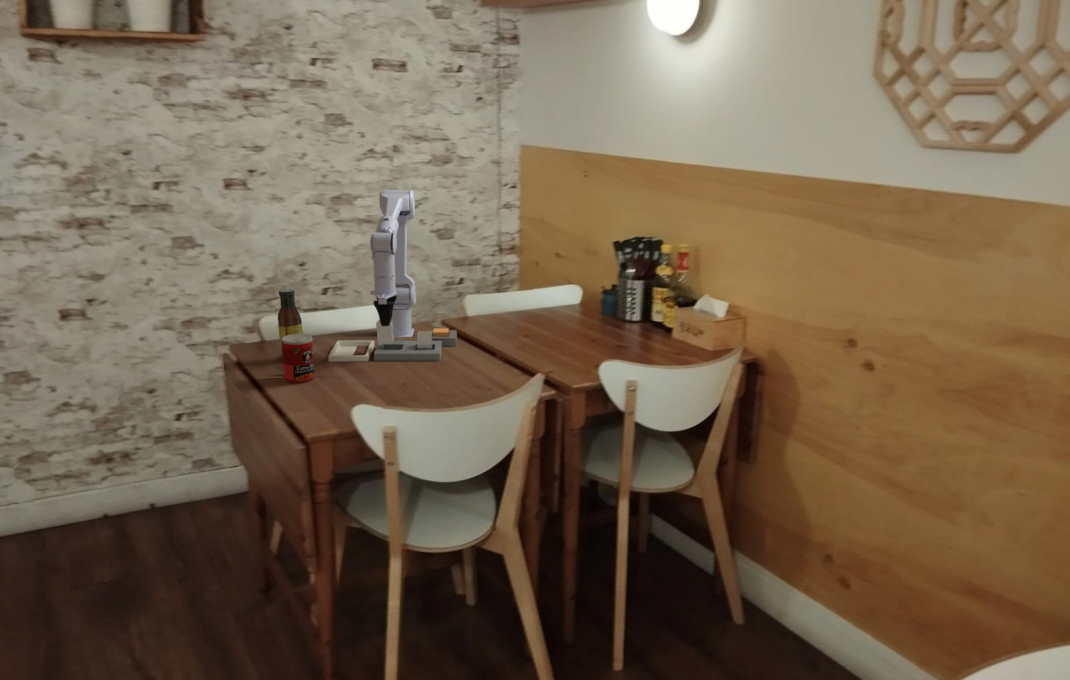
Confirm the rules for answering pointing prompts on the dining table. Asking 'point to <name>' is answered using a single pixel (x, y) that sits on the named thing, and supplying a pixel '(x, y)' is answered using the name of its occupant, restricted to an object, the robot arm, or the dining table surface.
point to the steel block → (385, 333)
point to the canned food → (298, 358)
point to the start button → (441, 332)
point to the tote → (349, 351)
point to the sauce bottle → (288, 315)
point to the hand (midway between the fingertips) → (386, 323)
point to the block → (424, 340)
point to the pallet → (407, 352)
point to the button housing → (447, 338)
